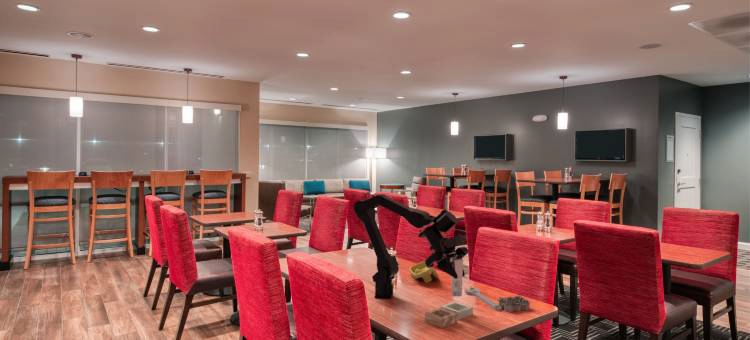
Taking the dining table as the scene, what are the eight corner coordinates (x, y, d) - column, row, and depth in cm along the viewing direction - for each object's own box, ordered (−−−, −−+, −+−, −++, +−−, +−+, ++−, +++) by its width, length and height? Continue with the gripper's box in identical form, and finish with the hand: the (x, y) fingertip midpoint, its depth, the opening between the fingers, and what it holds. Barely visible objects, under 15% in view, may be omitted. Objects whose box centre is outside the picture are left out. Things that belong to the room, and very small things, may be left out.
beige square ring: (442, 328, 147) (442, 319, 147) (424, 321, 153) (424, 312, 153) (457, 322, 153) (457, 313, 153) (440, 316, 158) (440, 307, 158)
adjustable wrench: (503, 312, 165) (503, 307, 165) (486, 312, 164) (486, 308, 164) (476, 290, 190) (476, 286, 190) (461, 291, 189) (461, 287, 189)
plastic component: (408, 268, 215) (427, 258, 216) (414, 282, 215) (434, 273, 215) (414, 276, 195) (435, 266, 196) (422, 292, 195) (443, 281, 196)
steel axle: (451, 296, 159) (452, 260, 159) (451, 293, 163) (452, 258, 162) (462, 296, 159) (463, 261, 158) (461, 293, 162) (462, 258, 162)
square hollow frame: (458, 319, 155) (458, 312, 155) (440, 313, 161) (440, 306, 161) (472, 314, 161) (473, 307, 161) (454, 308, 167) (454, 301, 166)
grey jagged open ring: (506, 313, 163) (506, 302, 163) (495, 306, 170) (495, 295, 170) (532, 310, 166) (532, 299, 166) (520, 304, 173) (520, 293, 173)
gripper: (432, 229, 156) (457, 268, 149) (465, 224, 169) (490, 260, 161) (414, 248, 162) (438, 286, 155) (448, 242, 175) (471, 277, 167)
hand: (460, 277), depth 159 cm, fingers closed on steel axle, 4 cm apart
